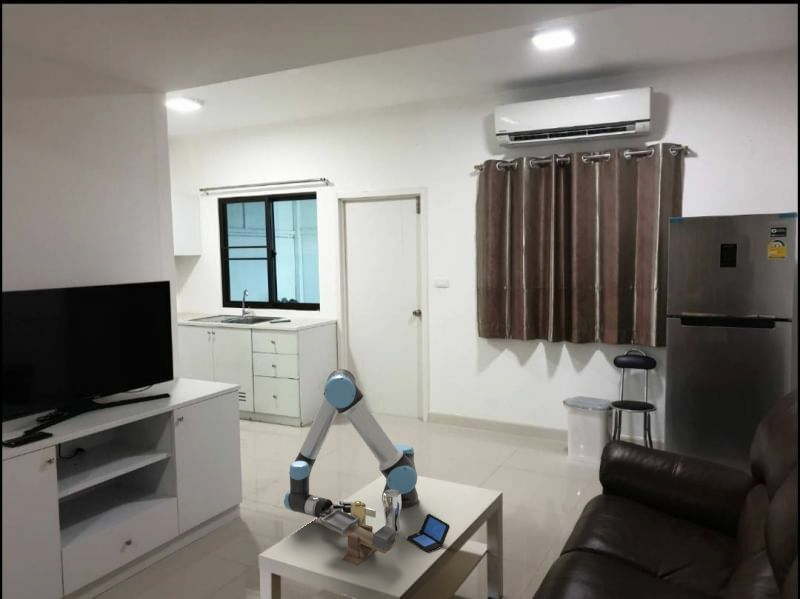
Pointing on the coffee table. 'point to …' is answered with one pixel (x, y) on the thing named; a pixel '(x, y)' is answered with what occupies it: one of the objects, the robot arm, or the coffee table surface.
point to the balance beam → (360, 531)
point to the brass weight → (359, 512)
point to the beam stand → (358, 547)
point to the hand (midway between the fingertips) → (366, 520)
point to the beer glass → (392, 508)
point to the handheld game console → (430, 534)
